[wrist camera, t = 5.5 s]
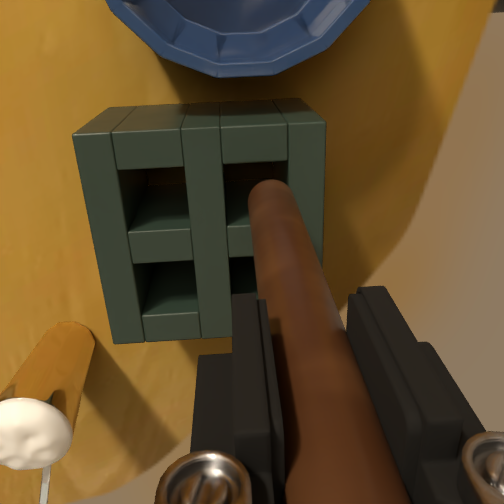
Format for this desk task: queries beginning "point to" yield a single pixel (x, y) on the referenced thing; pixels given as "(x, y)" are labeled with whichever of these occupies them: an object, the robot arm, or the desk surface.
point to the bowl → (237, 31)
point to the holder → (189, 207)
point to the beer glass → (45, 401)
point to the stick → (316, 368)
